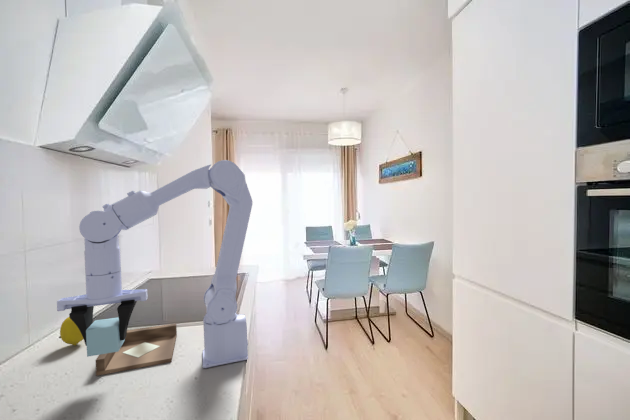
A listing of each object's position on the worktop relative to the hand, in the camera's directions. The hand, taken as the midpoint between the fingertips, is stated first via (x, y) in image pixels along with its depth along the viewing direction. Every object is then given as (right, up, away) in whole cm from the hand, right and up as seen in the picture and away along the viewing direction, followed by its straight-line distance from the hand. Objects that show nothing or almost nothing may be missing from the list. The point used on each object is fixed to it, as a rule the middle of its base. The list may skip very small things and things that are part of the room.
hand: (106, 340), depth 59 cm
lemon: (-19, -8, +16) cm, 26 cm away
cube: (0, -1, 0) cm, 1 cm away
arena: (0, -8, +11) cm, 14 cm away
